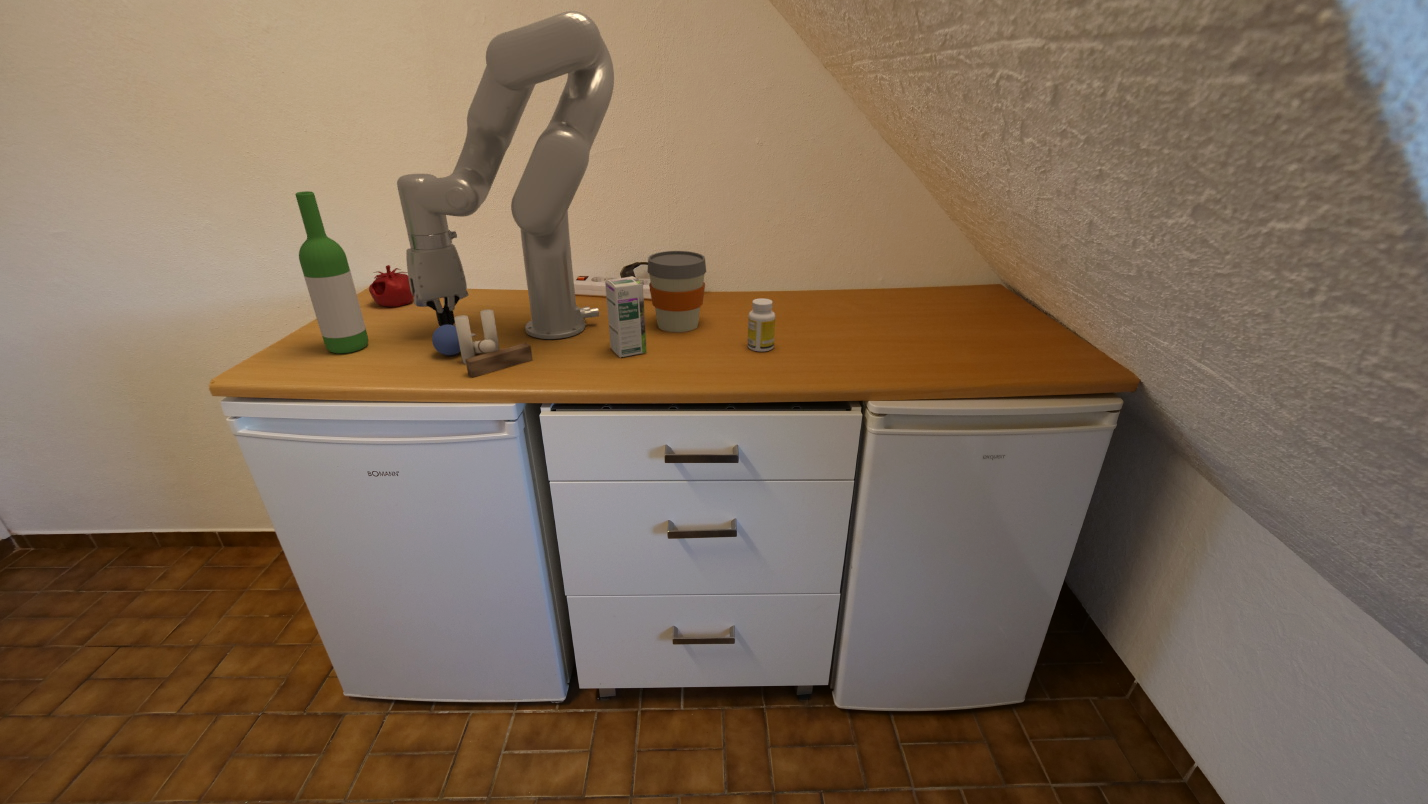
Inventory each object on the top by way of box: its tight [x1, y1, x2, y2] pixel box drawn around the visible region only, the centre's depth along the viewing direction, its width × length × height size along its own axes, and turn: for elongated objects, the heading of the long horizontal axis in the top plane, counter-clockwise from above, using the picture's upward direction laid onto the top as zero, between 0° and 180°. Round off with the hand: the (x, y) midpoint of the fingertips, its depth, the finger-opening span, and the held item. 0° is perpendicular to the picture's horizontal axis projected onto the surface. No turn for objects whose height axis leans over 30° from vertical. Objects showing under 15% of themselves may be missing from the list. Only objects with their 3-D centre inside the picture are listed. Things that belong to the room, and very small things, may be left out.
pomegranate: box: [368, 264, 414, 308], centre depth 148 cm, size 10×10×9 cm
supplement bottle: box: [747, 298, 776, 353], centre depth 126 cm, size 5×5×10 cm
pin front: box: [473, 339, 496, 355], centre depth 120 cm, size 2×2×9 cm
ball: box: [431, 324, 461, 356], centre depth 122 cm, size 6×6×6 cm
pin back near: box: [479, 308, 501, 353], centre depth 121 cm, size 2×2×9 cm
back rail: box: [465, 342, 534, 379], centre depth 118 cm, size 12×2×3 cm, turn 132°
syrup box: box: [604, 276, 647, 359], centre depth 122 cm, size 6×6×14 cm
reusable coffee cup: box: [647, 250, 707, 333], centre depth 135 cm, size 12×13×15 cm
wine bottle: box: [294, 190, 369, 354], centre depth 119 cm, size 8×8×30 cm
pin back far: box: [454, 314, 476, 365], centre depth 118 cm, size 2×2×9 cm
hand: (447, 328), depth 132 cm, fingers closed
